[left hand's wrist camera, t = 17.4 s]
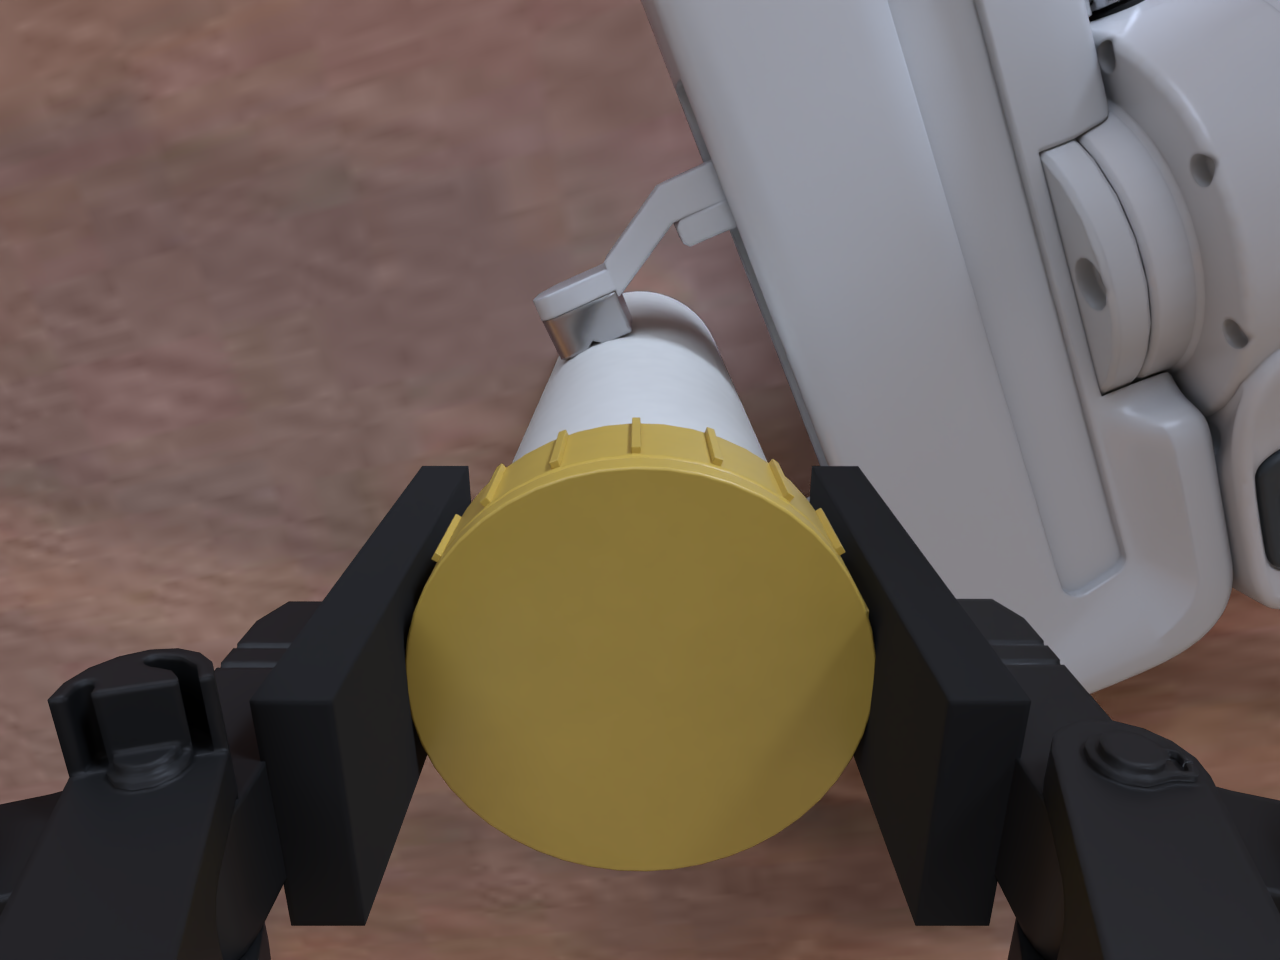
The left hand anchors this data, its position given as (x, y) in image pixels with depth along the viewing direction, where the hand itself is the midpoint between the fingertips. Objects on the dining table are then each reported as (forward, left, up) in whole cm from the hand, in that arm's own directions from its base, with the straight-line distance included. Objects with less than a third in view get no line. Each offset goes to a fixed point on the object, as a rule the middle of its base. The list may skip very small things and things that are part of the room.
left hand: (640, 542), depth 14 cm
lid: (0, 0, +4) cm, 4 cm away
